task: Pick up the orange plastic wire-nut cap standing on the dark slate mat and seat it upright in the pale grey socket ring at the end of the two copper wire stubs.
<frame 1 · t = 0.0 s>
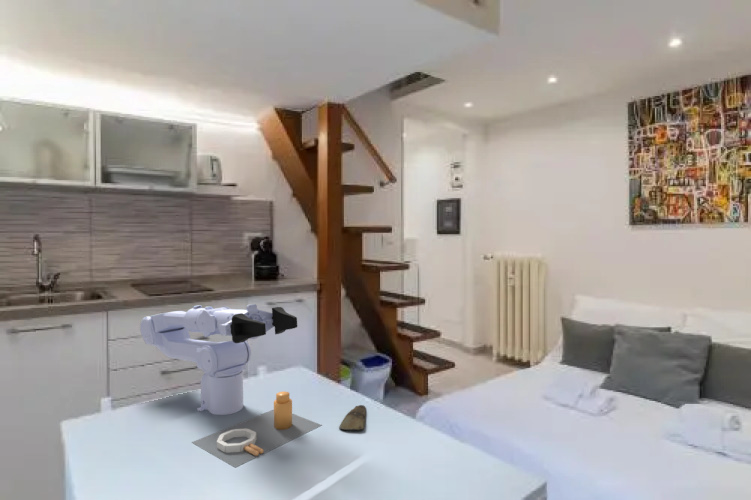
hand: (280, 325, 83), 22 cm above the table, fingers open, 7 cm apart
stone: (358, 424, 90), on the table
wire nut: (283, 425, 87), point 1 cm above the table, touching mat
mat: (259, 437, 84), on the table
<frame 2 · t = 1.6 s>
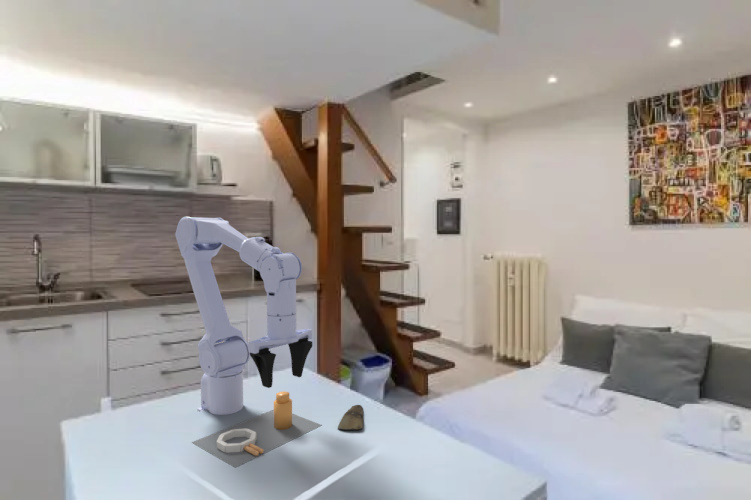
hand: (282, 381, 86), 10 cm above the table, fingers open, 7 cm apart
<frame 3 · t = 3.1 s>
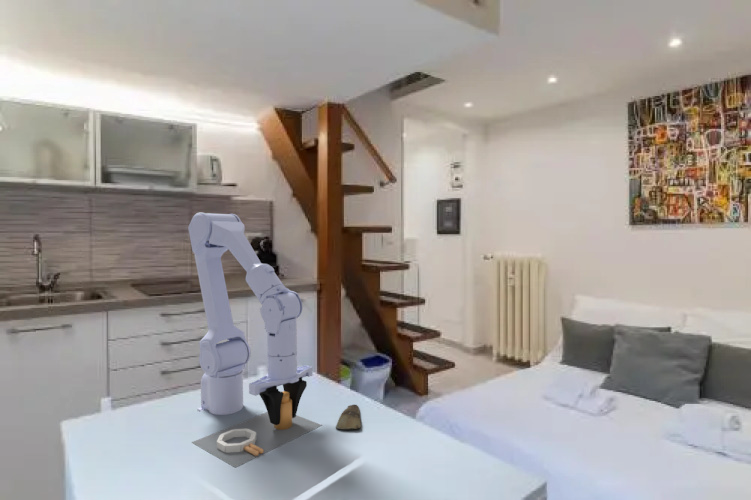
hand: (283, 419, 87), 2 cm above the table, fingers closed on wire nut, 4 cm apart
wire nut: (283, 425, 87), point 1 cm above the table, touching gripper, mat
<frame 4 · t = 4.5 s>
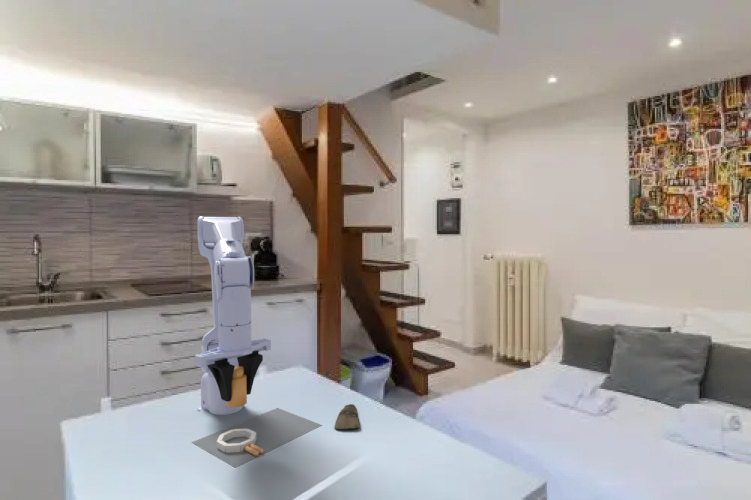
hand: (236, 396, 79), 10 cm above the table, fingers closed on wire nut, 4 cm apart
wire nut: (236, 403, 79), point 8 cm above the table, touching gripper
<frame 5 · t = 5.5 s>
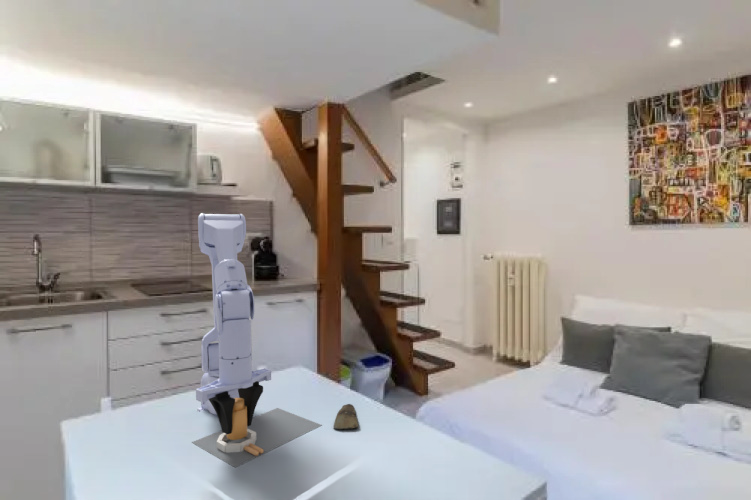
hand: (236, 428, 79), 4 cm above the table, fingers closed on wire nut, 4 cm apart
wire nut: (237, 435, 79), point 2 cm above the table, touching gripper
when the fingers open (3 cm above the table, at t = 6.1 s): wire nut stays where it is, resting on mat.
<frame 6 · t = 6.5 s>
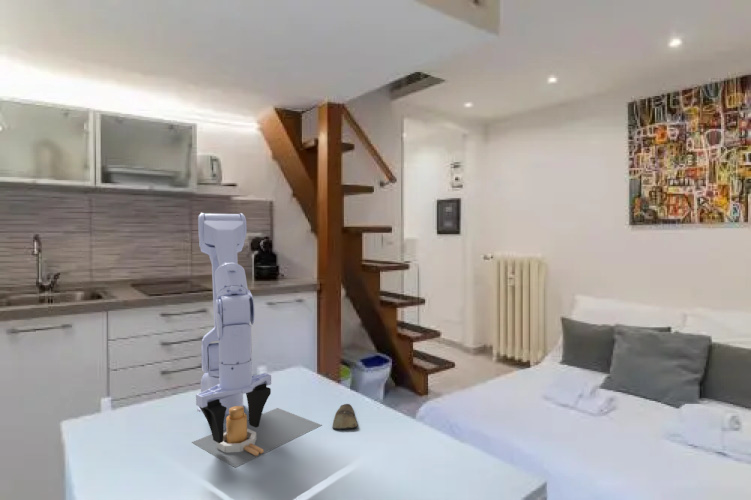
hand: (236, 433, 80), 3 cm above the table, fingers open, 7 cm apart
wire nut: (237, 443, 80), point 1 cm above the table, touching mat
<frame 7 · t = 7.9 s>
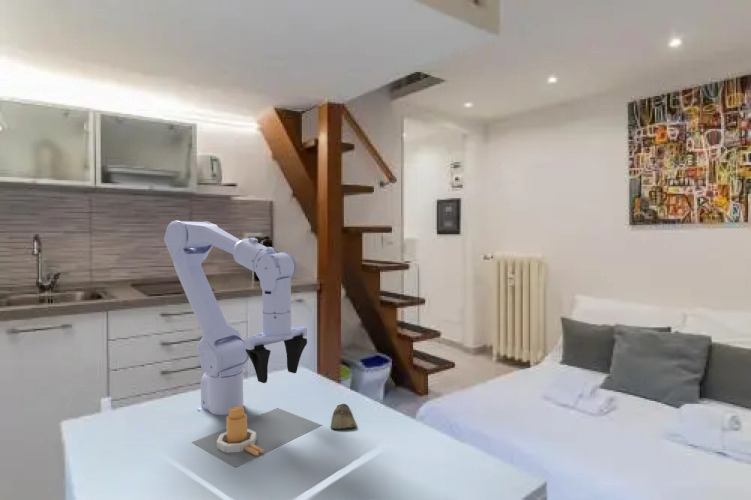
hand: (277, 376, 89), 10 cm above the table, fingers open, 7 cm apart
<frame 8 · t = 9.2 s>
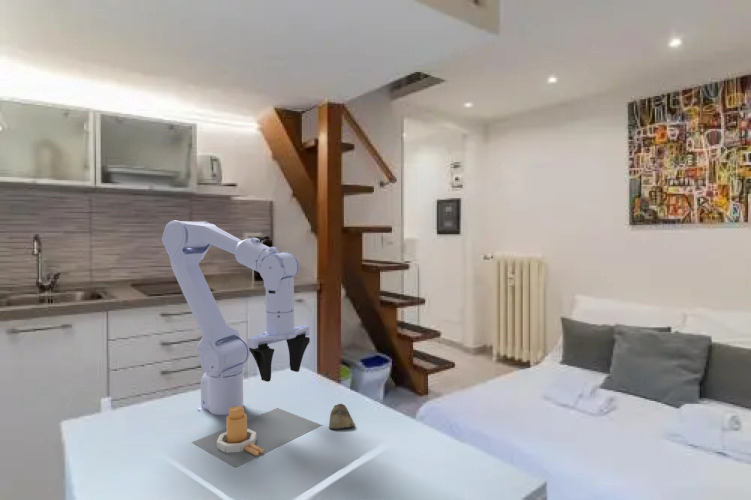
hand: (280, 375, 90), 10 cm above the table, fingers open, 7 cm apart
at the end: wire nut 0.1 cm from the target spot on the mat, point 0.8 cm above the mat's base; wire nut tilted 1°; the gripper is holding nothing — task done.
